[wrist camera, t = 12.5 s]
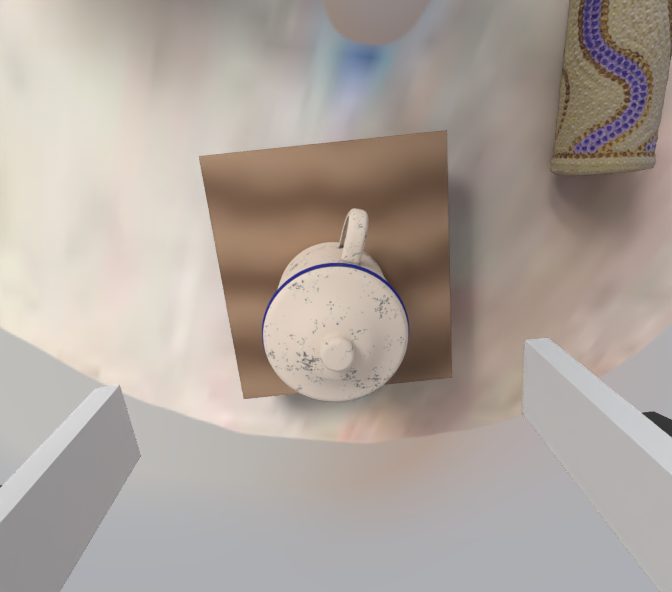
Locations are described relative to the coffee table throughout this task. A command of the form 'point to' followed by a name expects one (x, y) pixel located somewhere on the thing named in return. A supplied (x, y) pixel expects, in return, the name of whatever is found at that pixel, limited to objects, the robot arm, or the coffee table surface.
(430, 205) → the walnut stand
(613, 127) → the decorative bottle
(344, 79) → the coffee table surface
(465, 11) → the coffee table surface
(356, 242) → the teacup with lid
